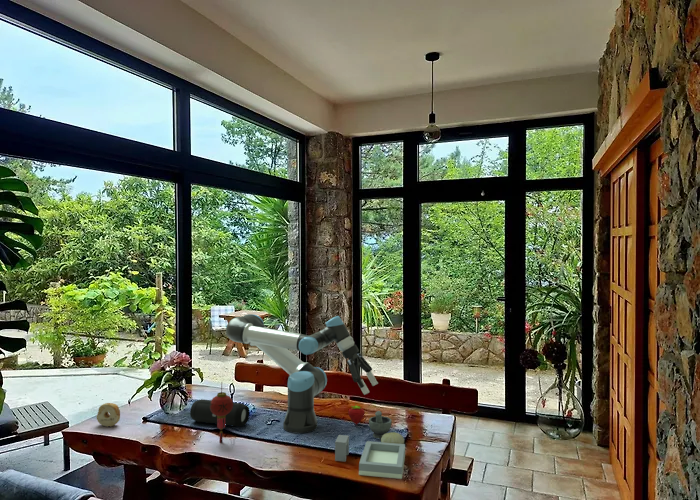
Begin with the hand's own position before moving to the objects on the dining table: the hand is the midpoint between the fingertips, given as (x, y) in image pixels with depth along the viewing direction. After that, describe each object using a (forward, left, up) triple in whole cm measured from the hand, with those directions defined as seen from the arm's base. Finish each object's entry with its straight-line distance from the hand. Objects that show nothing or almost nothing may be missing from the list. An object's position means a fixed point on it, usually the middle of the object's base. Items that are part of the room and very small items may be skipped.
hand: (371, 389), depth 213 cm
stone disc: (-115, -25, -16) cm, 118 cm away
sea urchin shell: (+11, -22, -16) cm, 29 cm away
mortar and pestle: (+5, -14, -16) cm, 22 cm away
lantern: (-58, -33, -16) cm, 68 cm away
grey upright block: (-7, -37, -16) cm, 41 cm away
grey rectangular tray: (+9, -40, -16) cm, 44 cm away
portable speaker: (-68, -13, -16) cm, 71 cm away
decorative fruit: (-7, -2, -16) cm, 18 cm away
